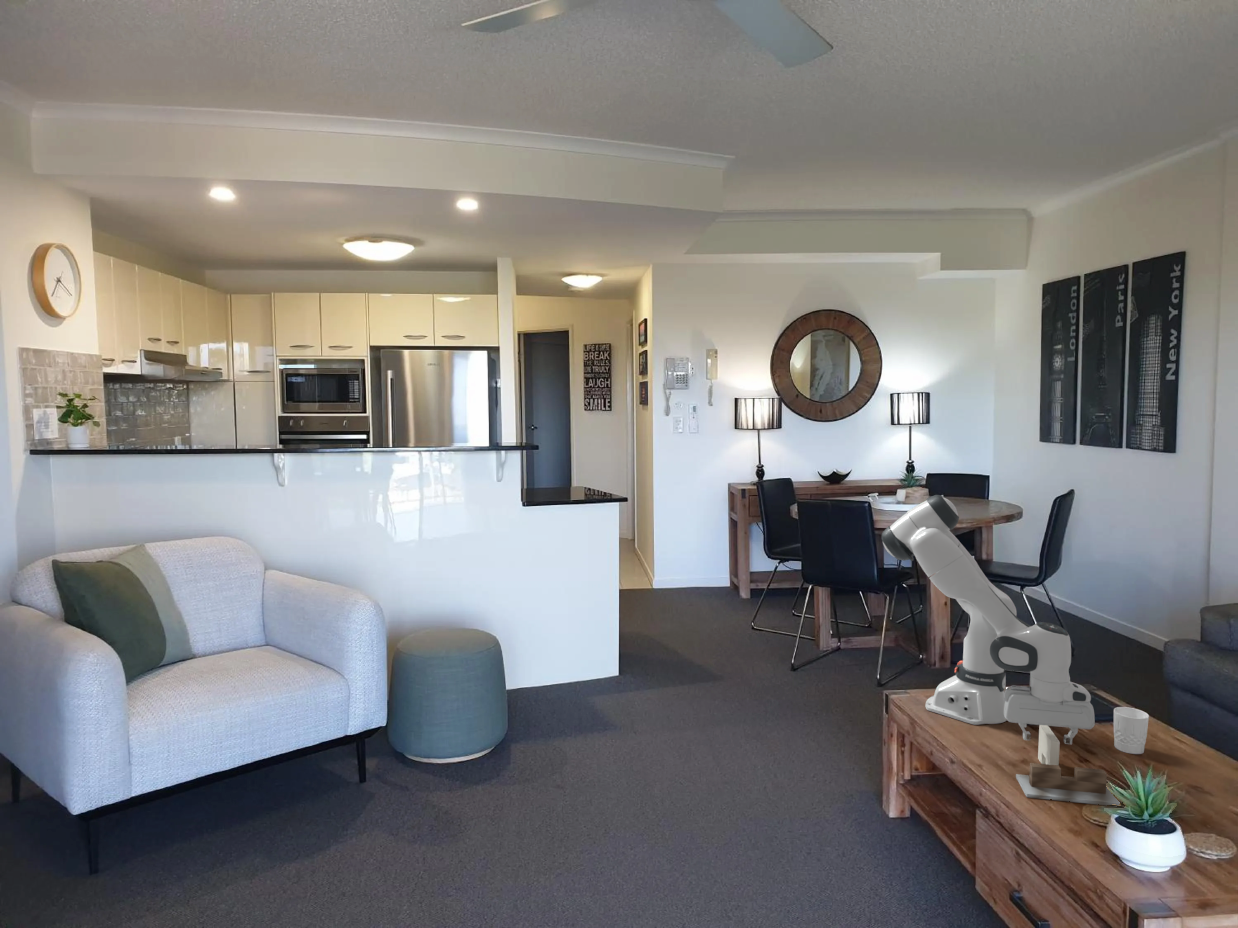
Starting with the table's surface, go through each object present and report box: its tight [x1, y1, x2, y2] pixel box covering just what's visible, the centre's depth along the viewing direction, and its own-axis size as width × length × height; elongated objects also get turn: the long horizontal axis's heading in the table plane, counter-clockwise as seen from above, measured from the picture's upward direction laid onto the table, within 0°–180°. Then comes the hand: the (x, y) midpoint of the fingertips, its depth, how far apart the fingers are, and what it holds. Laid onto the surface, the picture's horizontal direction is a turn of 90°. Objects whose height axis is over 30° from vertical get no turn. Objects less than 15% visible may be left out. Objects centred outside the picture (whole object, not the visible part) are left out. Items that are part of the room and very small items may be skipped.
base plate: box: [1015, 762, 1121, 806], centre depth 190 cm, size 20×10×6 cm, turn 77°
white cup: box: [1113, 706, 1150, 755], centre depth 212 cm, size 8×8×10 cm
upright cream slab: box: [1037, 725, 1061, 766], centre depth 202 cm, size 10×2×9 cm, turn 167°
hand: (1047, 741), depth 201 cm, fingers open, 8 cm apart
